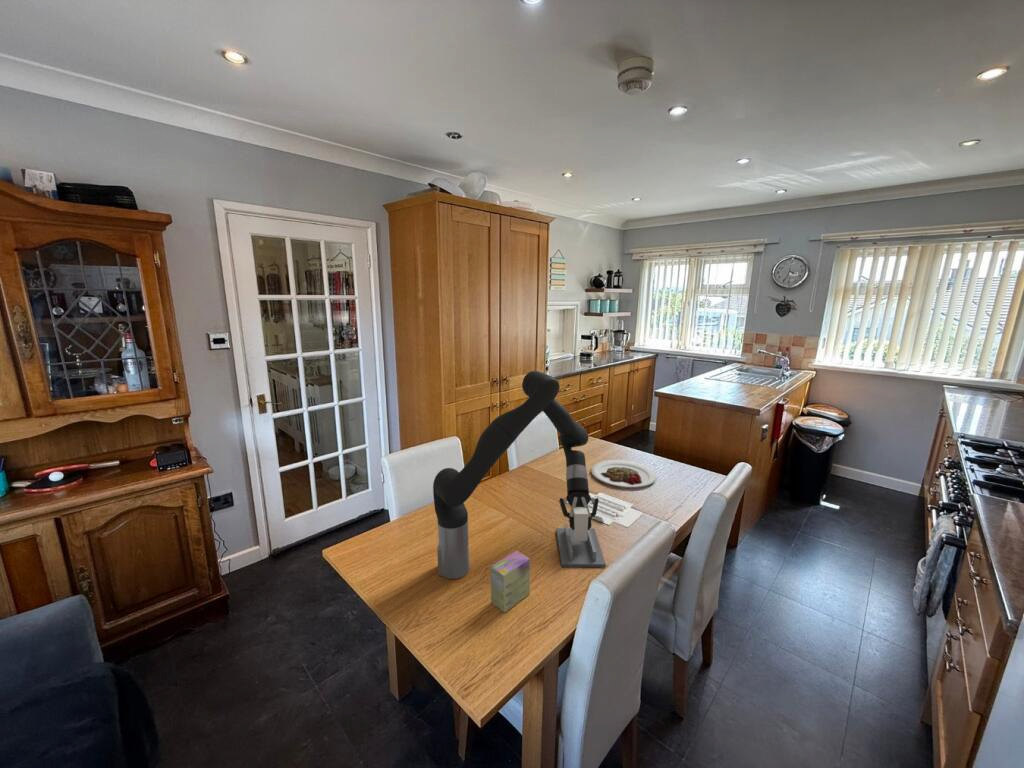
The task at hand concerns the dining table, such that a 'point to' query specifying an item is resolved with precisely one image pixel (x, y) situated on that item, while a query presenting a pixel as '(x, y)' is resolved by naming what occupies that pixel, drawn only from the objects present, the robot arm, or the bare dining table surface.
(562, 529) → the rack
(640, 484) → the plated food
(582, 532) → the block
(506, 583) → the box
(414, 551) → the dining table surface
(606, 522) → the tray
